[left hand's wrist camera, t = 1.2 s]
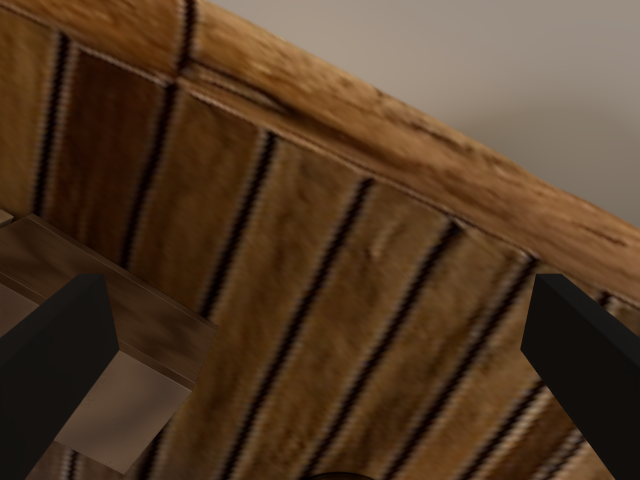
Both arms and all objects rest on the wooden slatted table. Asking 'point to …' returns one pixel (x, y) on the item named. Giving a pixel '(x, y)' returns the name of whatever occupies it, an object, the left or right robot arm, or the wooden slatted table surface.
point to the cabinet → (132, 333)
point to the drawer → (5, 218)
